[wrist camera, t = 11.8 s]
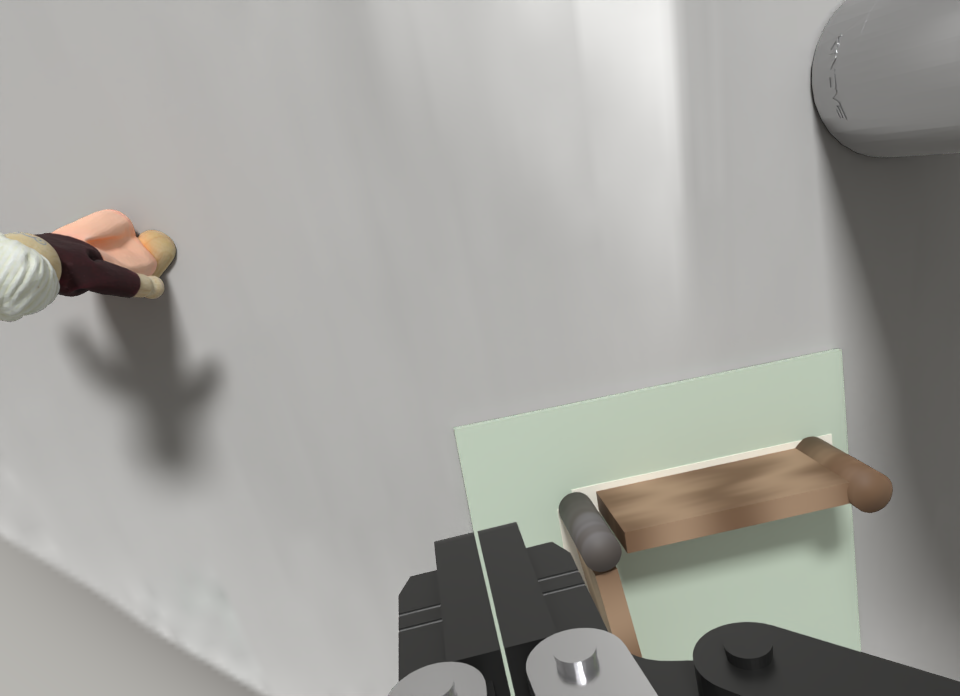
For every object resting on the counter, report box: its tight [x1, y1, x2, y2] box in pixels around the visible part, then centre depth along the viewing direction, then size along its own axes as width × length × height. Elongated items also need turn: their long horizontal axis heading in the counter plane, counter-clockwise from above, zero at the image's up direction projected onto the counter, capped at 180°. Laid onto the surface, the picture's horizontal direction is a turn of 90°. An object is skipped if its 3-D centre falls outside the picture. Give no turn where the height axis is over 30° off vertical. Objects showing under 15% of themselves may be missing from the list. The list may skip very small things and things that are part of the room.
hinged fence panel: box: [559, 492, 642, 658], centre depth 42 cm, size 16×2×6 cm, turn 17°
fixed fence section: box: [596, 436, 893, 554], centre depth 41 cm, size 14×2×6 cm, turn 100°
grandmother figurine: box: [0, 209, 176, 322], centre depth 32 cm, size 8×4×13 cm, turn 84°
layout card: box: [454, 349, 861, 696], centre depth 45 cm, size 23×21×1 cm
